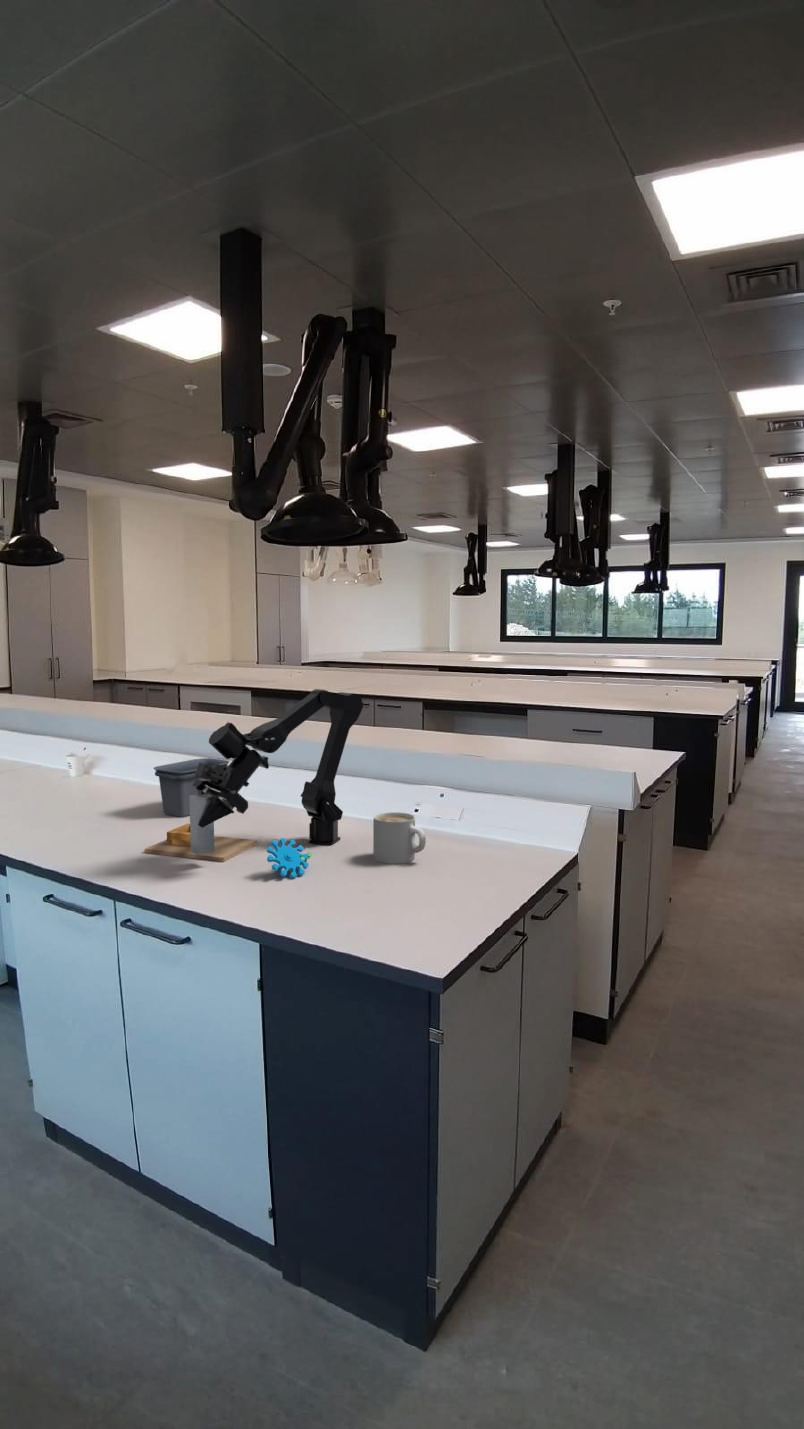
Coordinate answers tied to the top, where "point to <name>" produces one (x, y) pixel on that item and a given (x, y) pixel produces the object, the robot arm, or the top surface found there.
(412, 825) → the coffee mug
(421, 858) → the top surface
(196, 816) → the link bar
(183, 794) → the storage bin
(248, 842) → the plate
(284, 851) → the gear
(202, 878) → the top surface
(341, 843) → the top surface
